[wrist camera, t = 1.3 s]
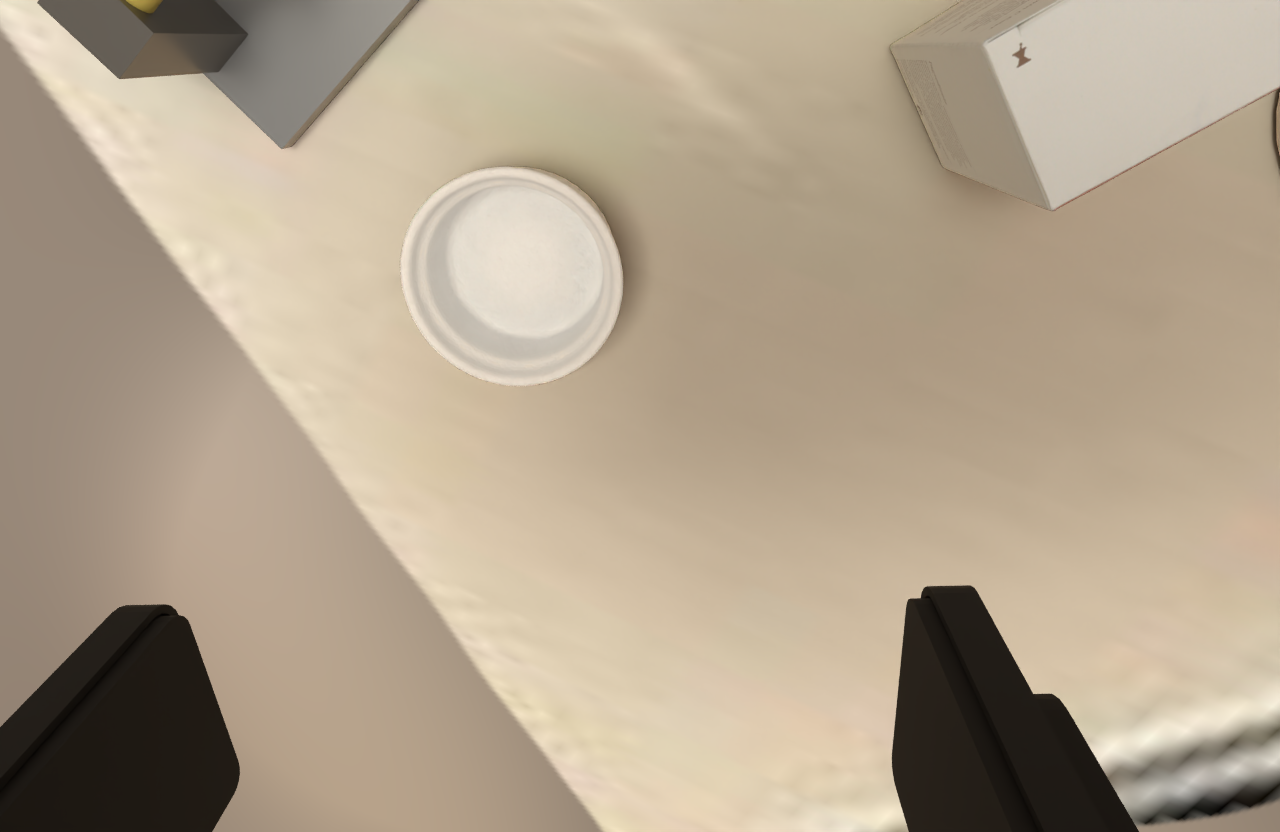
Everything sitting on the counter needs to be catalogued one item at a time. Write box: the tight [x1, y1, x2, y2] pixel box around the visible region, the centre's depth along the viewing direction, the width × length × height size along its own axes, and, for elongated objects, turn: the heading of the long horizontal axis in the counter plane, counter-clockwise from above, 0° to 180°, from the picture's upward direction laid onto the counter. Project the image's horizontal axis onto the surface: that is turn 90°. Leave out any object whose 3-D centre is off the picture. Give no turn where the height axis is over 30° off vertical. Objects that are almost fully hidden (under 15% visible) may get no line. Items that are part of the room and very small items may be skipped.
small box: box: [890, 0, 1280, 211], centre depth 28 cm, size 8×6×10 cm
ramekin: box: [400, 166, 623, 386], centre depth 34 cm, size 9×9×4 cm
